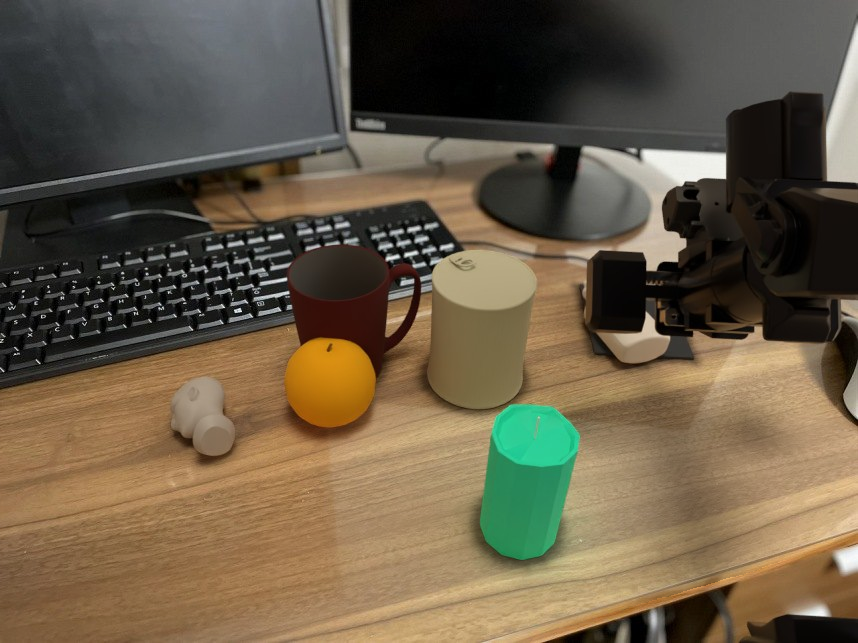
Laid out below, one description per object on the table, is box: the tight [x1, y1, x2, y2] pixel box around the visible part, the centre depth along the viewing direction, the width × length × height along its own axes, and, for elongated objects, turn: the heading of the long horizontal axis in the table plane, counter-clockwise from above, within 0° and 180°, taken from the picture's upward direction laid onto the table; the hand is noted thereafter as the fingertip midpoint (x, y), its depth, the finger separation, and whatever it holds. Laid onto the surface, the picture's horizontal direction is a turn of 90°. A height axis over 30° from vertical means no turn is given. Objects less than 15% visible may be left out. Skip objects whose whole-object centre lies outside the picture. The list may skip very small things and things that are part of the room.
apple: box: [283, 338, 377, 428], centre depth 58 cm, size 8×8×8 cm
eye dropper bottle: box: [582, 279, 670, 364], centre depth 70 cm, size 4×6×12 cm
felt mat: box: [579, 283, 695, 361], centre depth 72 cm, size 12×10×1 cm
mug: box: [286, 244, 422, 379], centre depth 62 cm, size 12×9×11 cm
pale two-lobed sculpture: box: [169, 376, 236, 457], centre depth 57 cm, size 4×8×5 cm
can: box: [426, 249, 538, 410], centre depth 61 cm, size 9×9×12 cm
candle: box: [479, 403, 581, 561], centre depth 48 cm, size 6×6×12 cm
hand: (672, 312), depth 60 cm, fingers closed
